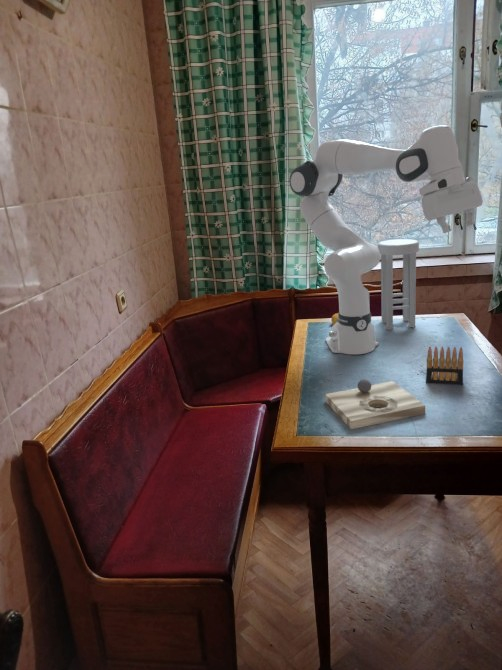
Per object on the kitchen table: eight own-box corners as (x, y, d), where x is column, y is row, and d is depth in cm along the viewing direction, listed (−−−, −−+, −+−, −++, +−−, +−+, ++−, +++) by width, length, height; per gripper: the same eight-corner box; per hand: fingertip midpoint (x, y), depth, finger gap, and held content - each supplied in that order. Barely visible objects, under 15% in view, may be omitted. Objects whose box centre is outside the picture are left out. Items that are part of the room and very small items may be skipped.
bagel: (336, 330, 211) (336, 319, 210) (328, 323, 222) (327, 313, 220) (358, 326, 213) (358, 316, 212) (348, 320, 223) (348, 309, 222)
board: (325, 401, 149) (325, 394, 148) (392, 388, 153) (392, 380, 152) (351, 429, 132) (350, 421, 131) (425, 413, 136) (425, 405, 135)
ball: (355, 390, 148) (355, 378, 147) (367, 388, 149) (367, 375, 148) (361, 395, 144) (361, 383, 143) (373, 393, 145) (373, 380, 144)
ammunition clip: (462, 382, 152) (464, 346, 149) (463, 384, 151) (464, 348, 147) (425, 380, 156) (426, 345, 152) (425, 383, 154) (426, 347, 150)
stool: (375, 320, 218) (374, 240, 207) (411, 317, 217) (412, 237, 206) (383, 331, 204) (382, 246, 193) (421, 328, 203) (423, 242, 192)
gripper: (464, 178, 150) (474, 223, 152) (414, 191, 142) (425, 238, 144) (482, 172, 144) (492, 219, 146) (430, 185, 136) (442, 234, 138)
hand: (458, 228), depth 145 cm, fingers open, 8 cm apart
